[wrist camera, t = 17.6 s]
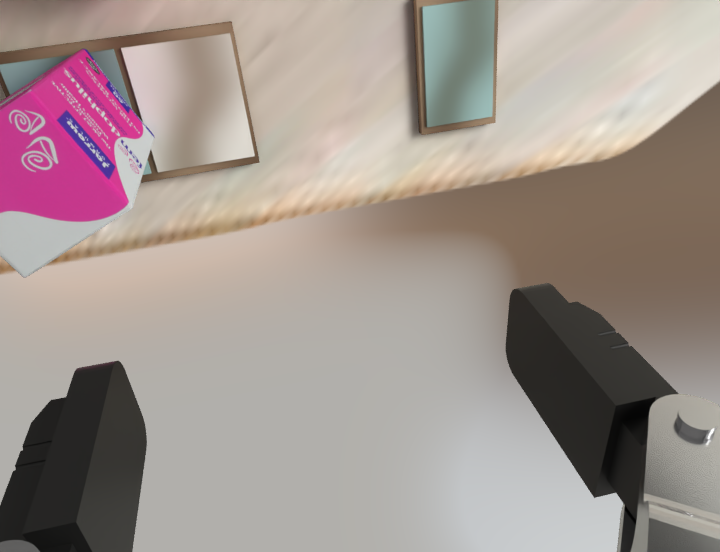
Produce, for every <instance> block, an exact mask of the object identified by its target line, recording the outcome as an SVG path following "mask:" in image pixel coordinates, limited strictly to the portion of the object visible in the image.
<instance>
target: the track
mask: <svg viewBox="0 0 720 552" xmlns="http://www.w3.org/2000/svg"><path fill="white" fill-rule="evenodd" d="M413 4H414V26H415V48H416V70H417V92H418V114H419V133H421V134H422V135H425V134H431V133H437V132H443V131H449V130H455V129H461V128H466V127H472V126H478V125H484V124H490V123H495V115H496V74H497V33H498V0H413ZM81 49H87V50H88V52H89V53H90V55H91V56H92V57H93V59H94V60H95V61H96V63H97V64H98V66H99V67H100V69H101V70H102V71H103V72H104V74H105V75H106V76H107V78H108V79H109V80H110V82H111V83H112V84H113V85H114V87H115V88H116V89H117V91H118V92H119V93H120V94H121V96H122V97H123V98H124V99H125V101H126V102H127V103H128V105H129V106H130V107H131V109H132V110H133V111H134V112H135V114H136V115H137V116H138V117H139V118H140V120H141V121H142V122H143V123H144V124H145V125H146V126H147V128H148V129H149V130H150V131H151V132H152V133H153V135H154V137H155V138H154V141H153V144H152V147H151V150H150V153H149V156H148V159H147V163H146V166H145V169H144V172H143V175H142V179H141V182H147V181H152V180H158V179H164V178H170V177H176V176H182V175H188V174H194V173H200V172H206V171H212V170H218V169H224V168H229V167H235V166H241V165H247V164H253V163H259V157H258V152H257V147H256V142H255V137H254V132H253V127H252V122H251V117H250V112H249V107H248V102H247V97H246V92H245V87H244V82H243V77H242V72H241V67H240V62H239V57H238V52H237V47H236V42H235V37H234V32H233V27H232V22H231V21H230V22H223V23H216V24H208V25H201V26H193V27H186V28H178V29H171V30H164V31H156V32H149V33H141V34H134V35H126V36H119V37H112V38H104V39H97V40H89V41H82V42H74V43H67V44H60V45H52V46H45V47H37V48H30V49H22V50H15V51H8V52H0V83H1V86H2V88H3V91H4V93H5V95H6V98H7V97H8V96H10V95H11V94H13V93H14V92H16V91H17V90H19V89H20V88H22V87H23V86H25V85H26V84H28V83H29V82H31V81H32V80H34V79H35V78H37V77H38V76H40V75H42V74H43V73H45V72H46V71H48V70H49V69H51V68H53V67H54V66H56V65H57V64H59V63H60V62H62V61H64V60H65V59H67V58H68V57H70V56H72V55H73V54H75V53H76V52H78V51H79V50H81ZM141 182H140V183H141Z"/></svg>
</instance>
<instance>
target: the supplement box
mask: <svg viewBox="0 0 720 552" xmlns="http://www.w3.org/2000/svg"><path fill="white" fill-rule="evenodd" d="M154 138H155V137H154V135H153V133H152V132H151V131H150V130H149V129H148V128H147V126H146V125H145V124H144V123H143V122H142V121H141V120H140V118H139V117H138V116H137V115H136V114H135V112H134V111H133V110H132V109H131V107H130V106H129V105H128V103H127V102H126V101H125V99H124V98H123V97H122V96H121V94H120V93H119V92H118V91H117V89H116V88H115V87H114V85H113V84H112V83H111V82H110V80H109V79H108V78H107V76H106V75H105V74H104V72H103V71H102V70H101V69H100V67H99V66H98V64H97V63H96V61H95V60H94V59H93V57H92V56H91V55H90V53H89V52H88V50H87V49H81V50H79V51H78V52H76V53H75V54H73V55H72V56H70V57H68V58H67V59H65V60H64V61H62V62H60V63H59V64H57V65H56V66H54V67H53V68H51V69H49V70H48V71H46V72H45V73H43V74H42V75H40V76H38V77H37V78H35V79H34V80H32V81H31V82H29V83H28V84H26V85H25V86H23V87H22V88H20V89H19V90H17V91H16V92H14V93H13V94H11V95H10V96H8V97H7V98H5V99H4V100H2V101H1V102H0V256H1V257H2V258H3V259H4V260H5V261H6V262H7V263H8V264H10V265H11V266H12V267H13V268H14V269H15V270H16V271H17V272H18V273H19V274H20V275H21V276H22V277H27V276H29V275H31V274H32V273H34V272H36V271H37V270H39V269H40V268H42V267H43V266H45V265H46V264H48V263H49V262H51V261H53V260H54V259H56V258H57V257H59V256H60V255H62V254H63V253H65V252H66V251H68V250H69V249H71V248H72V247H74V246H75V245H77V244H78V243H80V242H81V241H83V240H85V239H86V238H88V237H89V236H91V235H92V234H94V233H95V232H97V231H98V230H100V229H101V228H103V227H104V226H106V225H107V224H109V223H110V222H112V221H113V220H115V219H117V218H118V217H120V216H121V215H123V214H124V213H126V212H128V211H129V210H131V209H132V208H133V205H134V201H135V198H136V195H137V192H138V189H139V185H140V182H141V179H142V175H143V172H144V169H145V166H146V163H147V159H148V156H149V153H150V150H151V147H152V144H153V141H154Z"/></svg>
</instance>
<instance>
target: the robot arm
mask: <svg viewBox="0 0 720 552" xmlns="http://www.w3.org/2000/svg"><path fill="white" fill-rule="evenodd" d="M506 355H507V360H508V363H509V367H510V369H511V371H512V373H513V375H514V376H515V378H516V379H517V381H518V383H519V384H520V386H521V387H522V389H523V390H524V392H525V393H526V395H527V396H528V398H529V399H530V401H531V402H532V404H533V405H534V407H535V408H536V410H537V411H538V413H539V415H540V416H541V418H542V419H543V421H544V422H545V424H546V425H547V427H548V428H549V430H550V431H551V433H552V434H553V436H554V437H555V439H556V440H557V442H558V443H559V445H560V446H561V448H562V449H563V451H564V452H565V454H566V455H567V457H568V459H569V460H570V461H571V463H572V465H573V466H574V468H575V469H576V471H577V472H578V474H579V475H580V477H581V478H582V480H583V481H584V483H585V484H586V486H587V487H588V489H589V490H590V492H591V493H592V495H593V496H594V498H595V497H599V496H603V495H608V494H611V493H617V494H618V496H619V497H620V499H621V500H622V501H623V507H622V511H621V517H620V528H619V537H618V547H617V552H720V406H719V405H717V404H716V403H713V402H711V401H709V400H706V399H704V398H701V397H697V396H692V395H686V394H678V393H677V392H676V391H675V390H674V389H673V388H672V387H671V386H670V385H669V384H668V383H667V382H666V381H665V380H664V379H663V378H662V377H661V375H659V373H658V372H656V370H655V369H654V368H653V367H652V366H651V365H650V364H649V363H648V362H647V361H646V360H645V359H644V358H643V357H642V356H641V355H640V354H639V353H638V352H637V351H636V350H635V349H634V348H633V347H632V346H630V347H629V345H628V342H627V341H626V340H625V339H624V338H623V337H622V336H621V335H620V334H619V333H616V332H615V329H614V328H613V327H612V326H611V325H610V324H609V323H608V322H607V321H606V320H605V319H604V318H603V317H602V316H601V315H600V314H599V313H597V312H595V311H594V310H592V309H590V308H588V307H586V306H584V305H582V304H580V303H579V302H572V303H568V302H567V300H566V299H565V298H564V297H563V296H562V295H561V294H560V293H559V292H558V291H557V290H556V289H555V287H554V286H552V285H551V284H549V283H545V284H540V285H534V286H529V287H524V288H518V289H514V290H513V291H512V293H511V295H510V303H509V314H508V325H507V337H506ZM146 445H147V440H146V429H145V423H144V419H143V416H142V413H141V411H140V408H139V405H138V403H137V400H136V398H135V395H134V392H133V390H132V387H131V385H130V382H129V380H128V377H127V374H126V372H125V369H124V367H123V365H122V364H121V362H119V361H114V362H109V363H103V364H98V365H92V366H87V367H82V368H78V369H76V371H75V373H74V375H73V378H72V381H71V384H70V387H69V390H68V393H67V396H66V398H60V399H55V400H51V401H50V402H49V403H48V404H47V405H46V407H45V408H44V409H43V410H42V411H41V412H40V413H39V415H38V416H37V417H36V418H35V419H34V420H33V422H32V423H31V425H30V428H29V431H28V433H27V436H26V438H25V441H24V444H23V451H21V452H20V454H19V457H18V460H17V462H16V465H15V467H16V470H15V471H13V473H12V476H11V478H10V481H9V484H8V486H7V489H6V492H5V494H4V497H3V500H2V502H1V505H0V552H132V549H133V541H134V534H135V527H136V520H137V512H138V505H139V497H140V490H141V484H142V476H143V469H144V462H145V455H146Z"/></svg>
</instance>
